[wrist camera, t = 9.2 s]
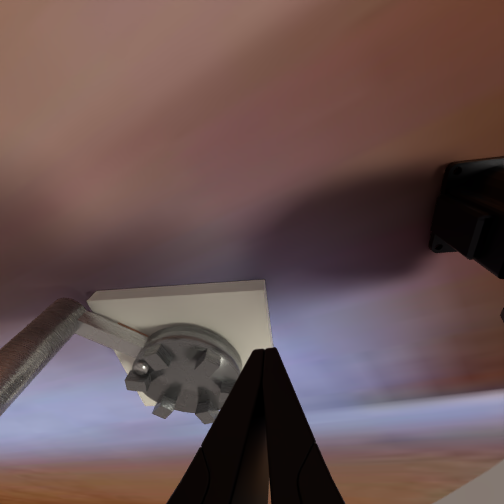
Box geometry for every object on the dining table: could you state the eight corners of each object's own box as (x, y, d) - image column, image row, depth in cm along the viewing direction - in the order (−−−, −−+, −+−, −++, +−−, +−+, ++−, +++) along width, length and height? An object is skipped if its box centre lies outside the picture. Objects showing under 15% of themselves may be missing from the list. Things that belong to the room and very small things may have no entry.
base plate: (264, 279, 22) (264, 290, 21) (279, 392, 30) (279, 406, 28) (96, 290, 24) (85, 301, 23) (150, 393, 32) (144, 406, 30)
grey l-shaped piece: (71, 253, 20) (-716, 808, 4) (263, 358, 24) (246, 826, 8) (42, 327, 24) (-390, 731, 8) (209, 405, 28) (130, 769, 13)
